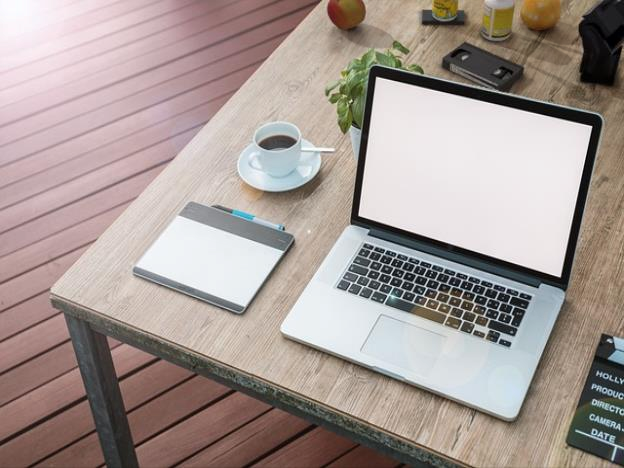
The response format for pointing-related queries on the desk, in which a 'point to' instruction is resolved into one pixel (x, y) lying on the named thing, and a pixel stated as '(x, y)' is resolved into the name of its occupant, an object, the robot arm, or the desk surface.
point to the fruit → (540, 13)
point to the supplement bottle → (445, 9)
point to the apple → (346, 13)
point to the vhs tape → (482, 67)
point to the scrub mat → (429, 19)
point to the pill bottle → (497, 19)
